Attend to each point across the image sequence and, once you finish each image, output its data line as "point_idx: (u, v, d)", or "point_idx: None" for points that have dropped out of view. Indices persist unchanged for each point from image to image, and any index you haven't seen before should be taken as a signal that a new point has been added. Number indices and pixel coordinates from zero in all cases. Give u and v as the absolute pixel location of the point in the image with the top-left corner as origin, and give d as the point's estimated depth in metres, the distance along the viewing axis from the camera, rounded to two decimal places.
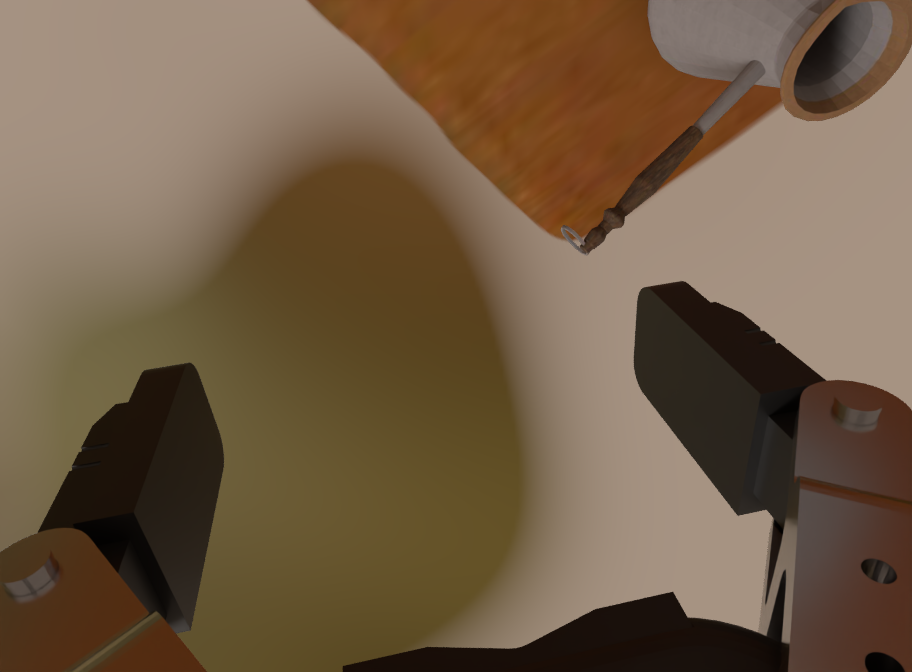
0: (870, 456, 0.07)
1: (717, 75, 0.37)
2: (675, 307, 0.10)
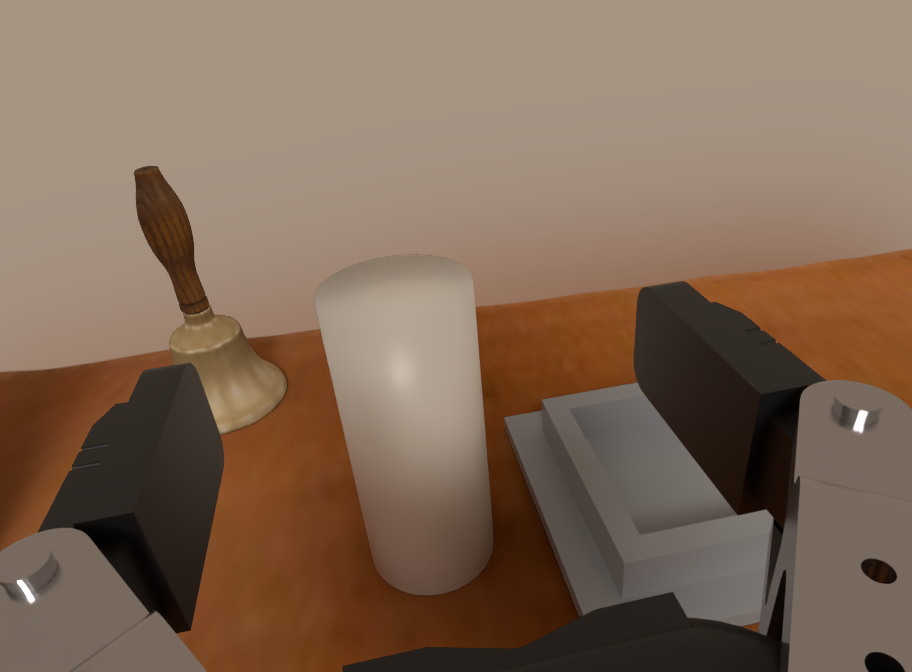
0: (870, 456, 0.07)
1: None
2: (675, 307, 0.10)
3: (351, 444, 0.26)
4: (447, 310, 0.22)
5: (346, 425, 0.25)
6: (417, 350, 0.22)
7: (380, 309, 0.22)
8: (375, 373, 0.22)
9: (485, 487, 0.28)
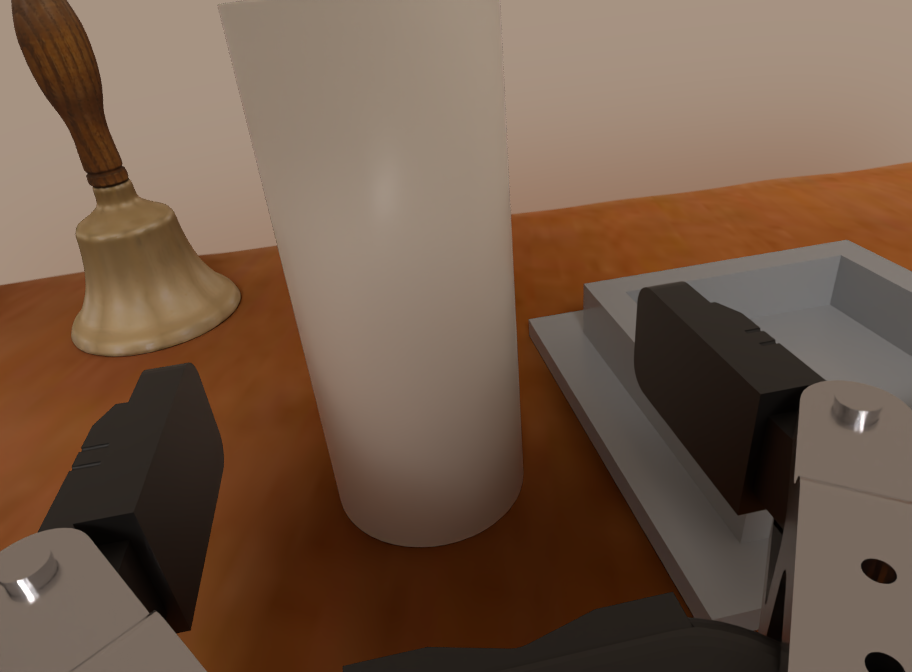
0: (870, 456, 0.07)
1: None
2: (675, 307, 0.10)
3: (293, 283, 0.15)
4: None
5: (283, 247, 0.15)
6: (399, 57, 0.12)
7: None
8: (322, 109, 0.12)
9: (514, 372, 0.18)
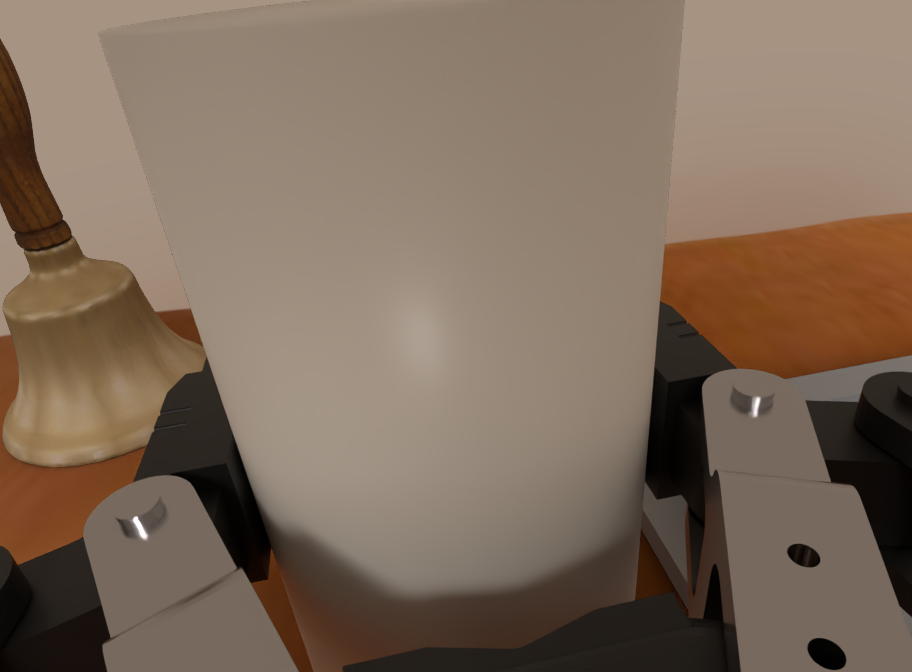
0: (755, 439, 0.07)
1: None
2: None
3: (268, 526, 0.08)
4: None
5: (248, 471, 0.08)
6: (501, 164, 0.05)
7: (343, 10, 0.05)
8: (318, 272, 0.05)
9: None
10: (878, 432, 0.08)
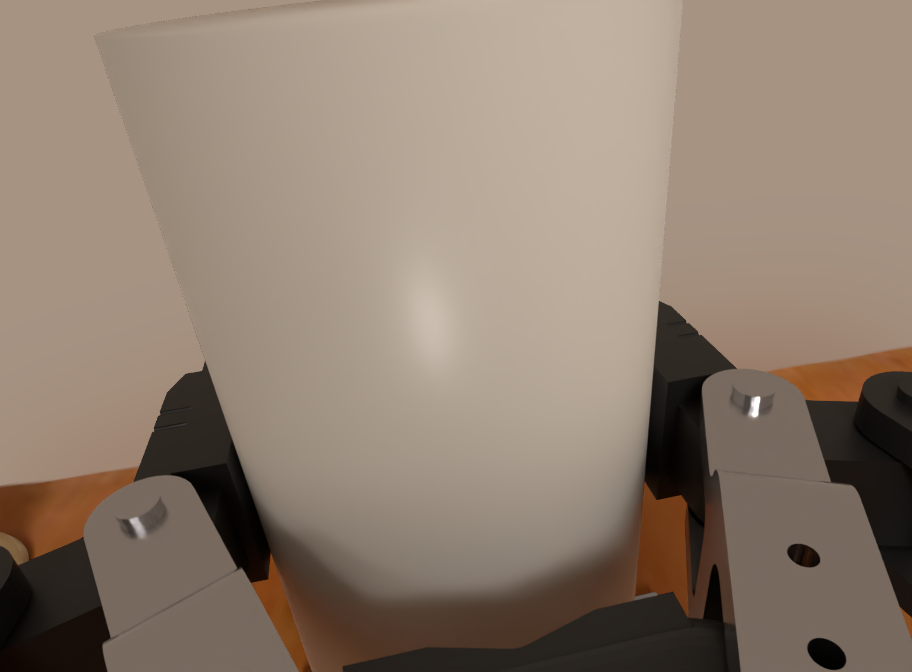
0: (755, 438, 0.07)
1: None
2: None
3: (266, 529, 0.08)
4: None
5: (247, 474, 0.08)
6: (498, 167, 0.05)
7: (340, 12, 0.05)
8: (314, 275, 0.05)
9: None
10: (878, 432, 0.08)
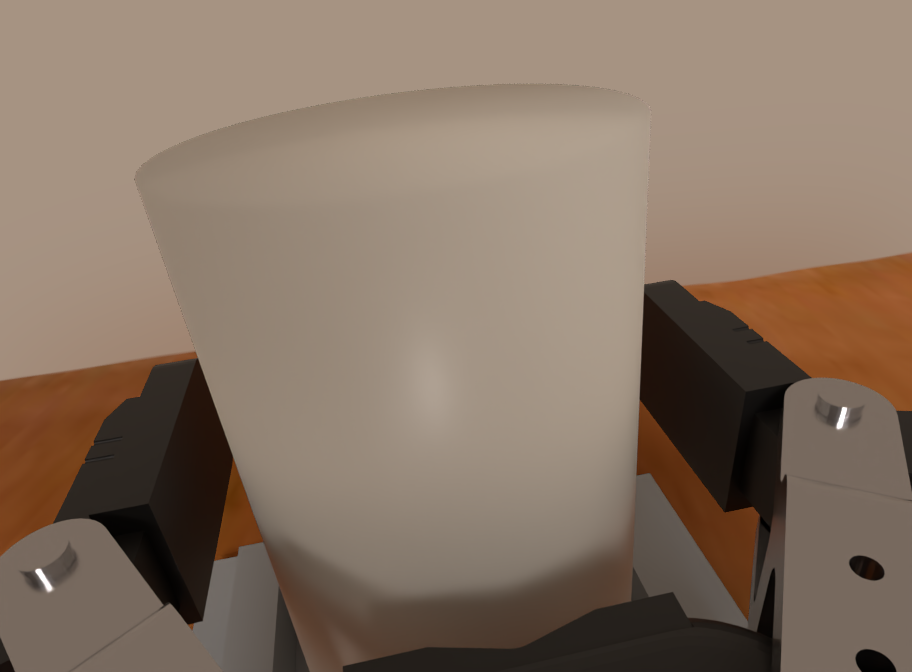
0: (851, 452, 0.07)
1: None
2: (664, 305, 0.10)
3: (284, 594, 0.09)
4: (599, 150, 0.06)
5: (266, 545, 0.09)
6: (486, 306, 0.06)
7: (348, 165, 0.06)
8: (329, 395, 0.06)
9: None
10: None
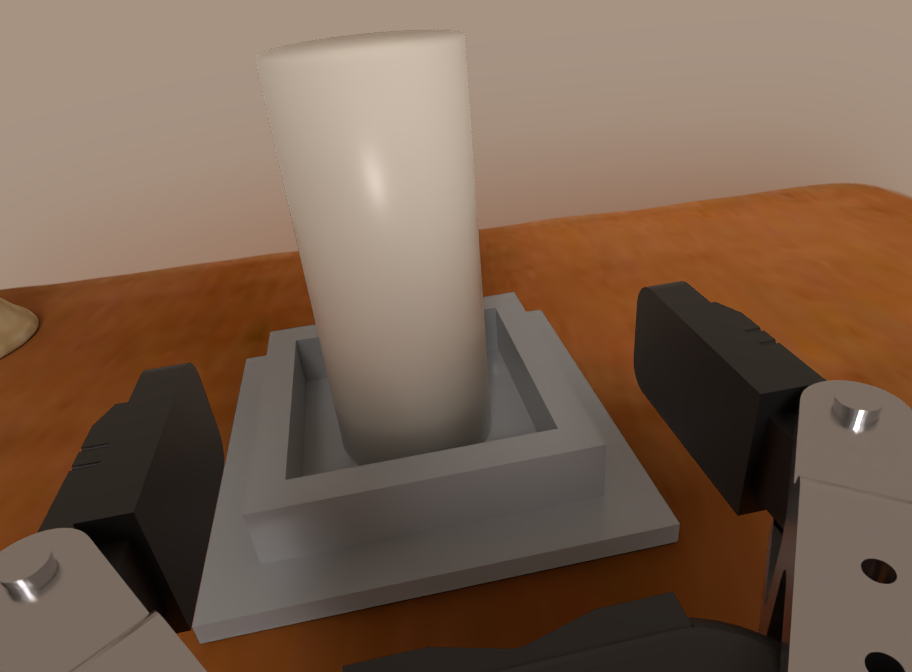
0: (870, 456, 0.07)
1: None
2: (675, 307, 0.10)
3: (308, 266, 0.20)
4: (428, 48, 0.16)
5: (301, 238, 0.19)
6: (387, 103, 0.16)
7: (340, 53, 0.17)
8: (331, 139, 0.17)
9: (480, 339, 0.22)
10: None
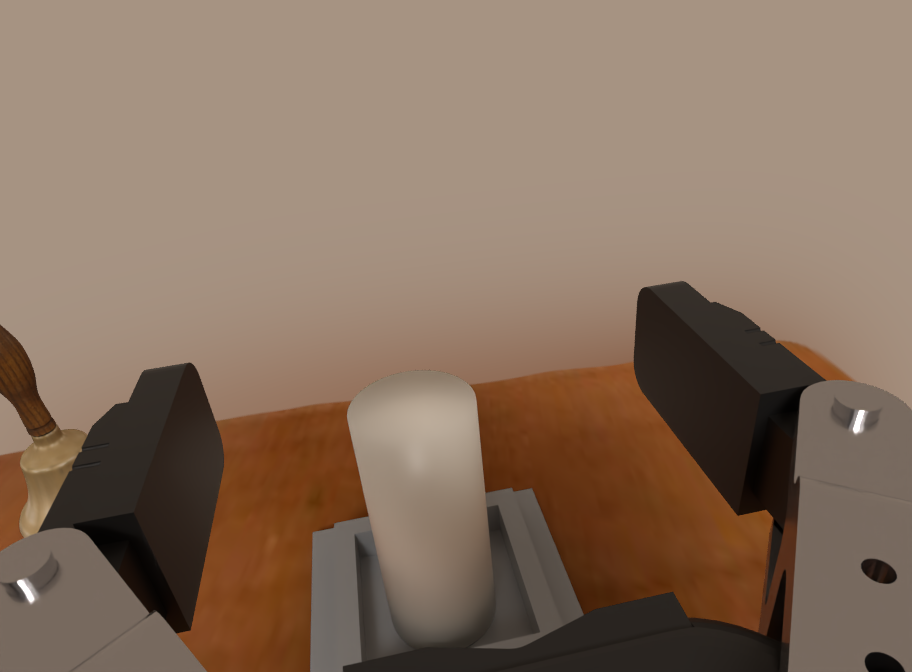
0: (870, 456, 0.07)
1: None
2: (675, 307, 0.10)
3: (375, 530, 0.31)
4: (454, 431, 0.27)
5: (371, 515, 0.30)
6: (430, 463, 0.27)
7: (401, 428, 0.28)
8: (395, 480, 0.28)
9: (487, 563, 0.33)
10: None
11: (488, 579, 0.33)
